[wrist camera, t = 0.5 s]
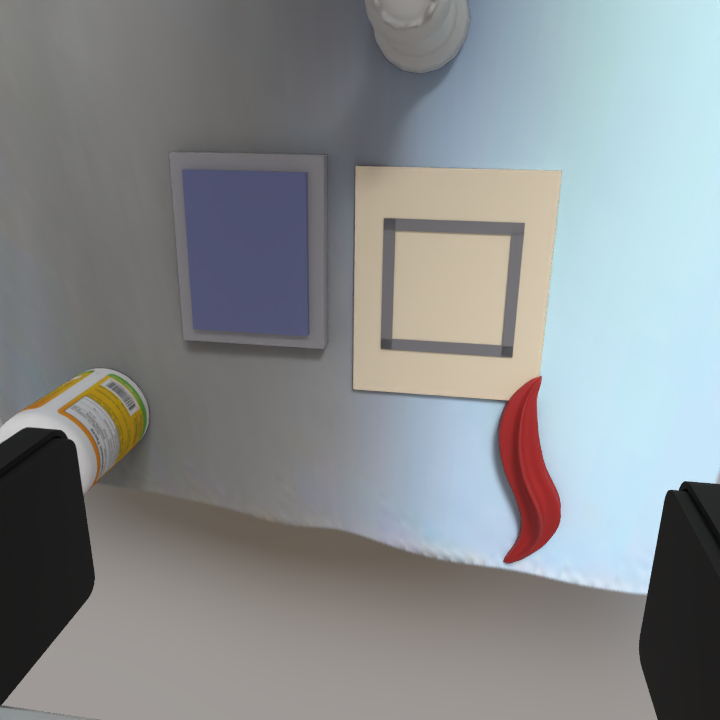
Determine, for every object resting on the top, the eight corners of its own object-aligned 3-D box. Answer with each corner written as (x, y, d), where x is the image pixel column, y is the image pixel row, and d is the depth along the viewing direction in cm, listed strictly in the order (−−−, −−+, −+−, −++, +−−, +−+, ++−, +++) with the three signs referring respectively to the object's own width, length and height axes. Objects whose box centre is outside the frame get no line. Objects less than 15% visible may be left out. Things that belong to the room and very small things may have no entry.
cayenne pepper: (541, 569, 40) (545, 591, 38) (464, 552, 40) (464, 573, 39) (601, 387, 36) (608, 403, 34) (513, 370, 36) (516, 384, 34)
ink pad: (176, 151, 35) (165, 152, 34) (327, 154, 34) (321, 156, 33) (190, 334, 39) (180, 342, 37) (327, 343, 38) (322, 351, 36)
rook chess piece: (422, 95, 33) (406, 87, 25) (355, 26, 32) (318, -3, 25) (490, 18, 31) (495, -15, 24) (421, -56, 31) (404, -113, 23)
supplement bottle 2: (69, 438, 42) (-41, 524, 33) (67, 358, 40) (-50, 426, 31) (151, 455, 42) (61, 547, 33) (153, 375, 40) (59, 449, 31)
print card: (356, 165, 34) (355, 166, 34) (561, 170, 33) (562, 171, 32) (354, 387, 38) (352, 389, 38) (536, 400, 37) (536, 403, 36)
